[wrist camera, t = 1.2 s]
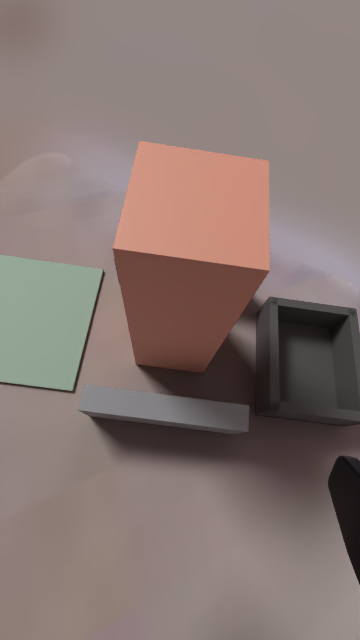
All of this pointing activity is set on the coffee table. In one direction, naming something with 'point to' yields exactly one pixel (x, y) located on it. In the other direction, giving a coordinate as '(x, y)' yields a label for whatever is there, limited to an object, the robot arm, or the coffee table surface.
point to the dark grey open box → (308, 362)
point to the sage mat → (44, 320)
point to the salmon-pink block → (190, 251)
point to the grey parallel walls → (164, 409)
